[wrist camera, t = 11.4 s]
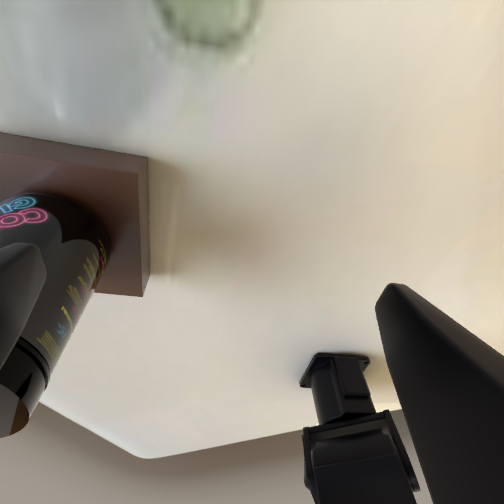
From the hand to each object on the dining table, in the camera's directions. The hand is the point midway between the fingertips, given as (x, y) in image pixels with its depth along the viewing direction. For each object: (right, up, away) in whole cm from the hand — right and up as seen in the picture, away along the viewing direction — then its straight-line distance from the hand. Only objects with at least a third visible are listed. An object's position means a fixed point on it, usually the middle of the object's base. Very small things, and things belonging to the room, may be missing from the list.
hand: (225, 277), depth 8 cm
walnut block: (-12, +3, +13) cm, 18 cm away
